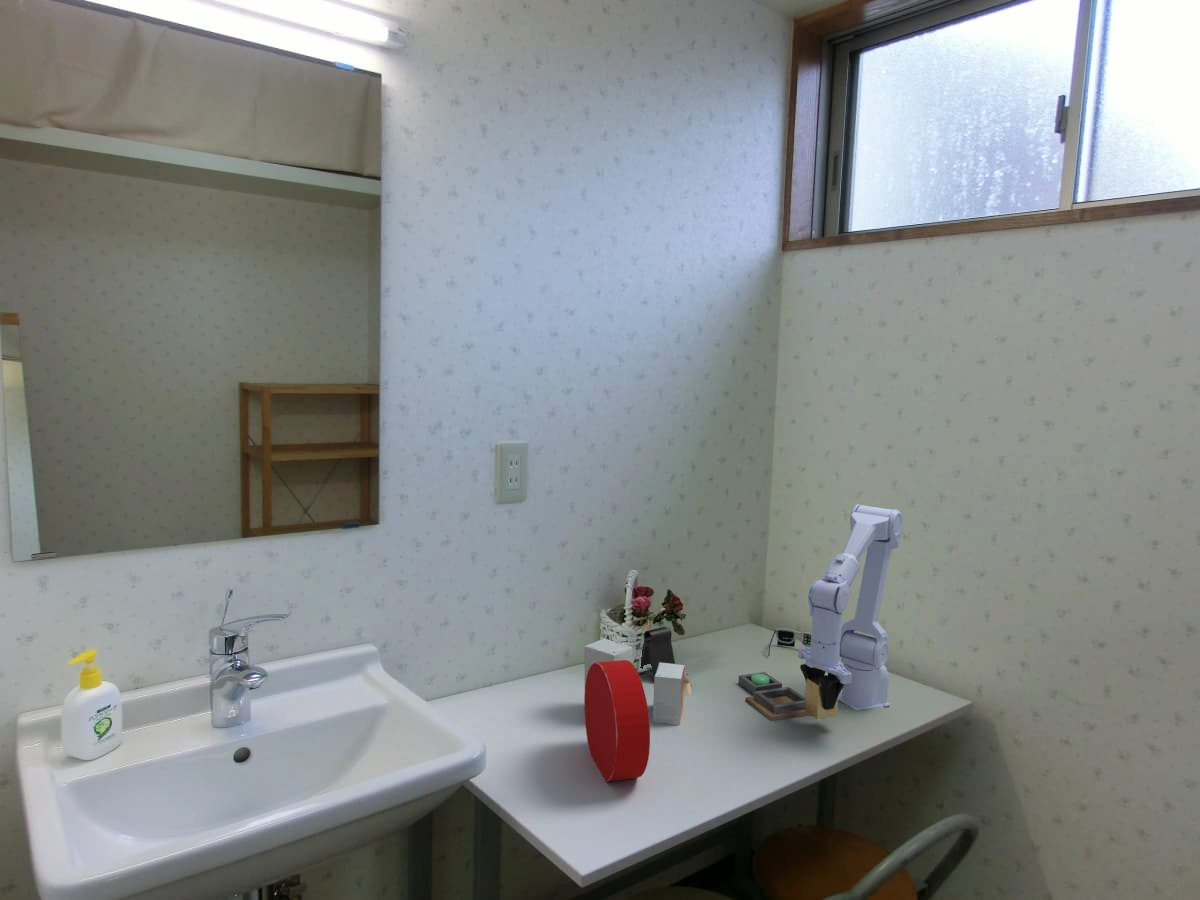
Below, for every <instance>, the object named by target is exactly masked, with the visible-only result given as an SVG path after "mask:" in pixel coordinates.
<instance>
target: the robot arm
mask: <svg viewBox="0 0 1200 900" xmlns="http://www.w3.org/2000/svg"><path fill="white" fill-rule="evenodd" d="M849 525H850V526H849V527H850V533H849V536H848V538H847V541H846V542H845V545H844V548H843V550H842V552H841V553H836V554H835V555H834V556H833V558H832V559H831V561H830V563H829V564H828V566H827V568H826V569H825V571H824V573H823V575H822V576H821V578H820V579H818V580H815V581H813V582H812V584H811V585H810V587H809V590H808V595H807V601H808V604H809V614H810V616H811V617H812V620H811V632H810V633H811V647H803V648H798V655H797V657H798V658H799V659H801V660H805V664H800V666H799V669H800V670H801V672H802V675H803V676H804V677H803V678H804V680H805V682H806V681H807V678H811V677H818V676H819V679H820V682H821V686H822V691H823V707H824V709H825V710H830V709H834V706H835V703H836V701H837V698H838V701H841V702H842V703H844V704H845V705H847V706H849V707H850V708H852V709H854V710H855V711H860V710H865V709H871V708H878V707H883V708H886V707H890V705H891V703H889V702H888V697H889V696H888V695H889V679H890V677H889V676H890V675H889V672H888V669H887V667H886V665H885V664H886V663H887V660H888V659H887V658H888V656H889V634H888V633H887V631H886V630H885V629H884V628H883V626H882V625H881V624H880V623H879V622H878V621H879V616H880V611H881V605H882V600H883V596H884V595H883V594H884V589H885V585H886V584H885V583H886V580H887V579H886V578H887V572H888V568H889V561H890V556H891V553H892V550H894V549H897V548H899V546H900V542H901V538H902V531H903V526H904V521H903V515H902V513H901V512H900V510H899V509H890V508H889V509H888V508H883V507H882V508H881V507H876V506H869V505H863V504H860V503H858V504H856V505H855V506H854V507H853V508H852V510H851V512H850V517H849ZM865 552H866V556H865V560H864V566H863V571H862V577H861V582H860V583H861V584H860V587H859V591H858V592H859V593H858V598H857V604H856V610H855V615H854V618H852V619H850V620H848V621H846V622H844V623H843V613H844V611H845V610H846V609H847V607H848V603H849V598H850V596H851V593H852V592H851V591H852V590H851V587H852V585H853V583H854V581H855V579H856V577H857V575H858V573H859V572H860V564H859V561H860V560H861V558H862V557H863V555H864V554H865ZM842 623H843V624H842ZM862 633H863V634H862ZM866 634H867V635H866ZM869 635H871V636H869ZM840 658H841V659H840ZM842 663H843V664H842ZM826 673H827V675H825V674H826ZM838 695H839V696H838Z"/></svg>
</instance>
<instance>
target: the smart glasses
mask: <svg viewBox="0 0 1200 900" xmlns="http://www.w3.org/2000/svg"><path fill="white" fill-rule="evenodd" d="M773 631H774V632H773V634H772V636H771V638H770V642H769V645H768V653H767V654H768V657H770V654H771V653H770V651H771V645H772V642H773V639H774V637H776V640H777V641H776V642H777V646H780V647H781V646H782V647H783V646H784V647H791V648H792V647H793V648H795V645H796V643H795V642H796V635H799V638H800V643H801V644H802V645H803V646H804V647H805V648H811V632H809V631H795V630H793V629H791V628H785V627H783V628H775V629H774V630H773ZM802 635H803V636H802ZM802 637H803V638H802Z"/></svg>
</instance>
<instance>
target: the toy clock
mask: <svg viewBox="0 0 1200 900" xmlns="http://www.w3.org/2000/svg"><path fill="white" fill-rule="evenodd" d="M641 679H642V678H641V675H640V674H639V673H638V672H637V670H636V666H635V665H634V663H633V664H632V663H631V662H630V661H628V660H619V661H607V662H595V663H593V664H592V665H591V666H590V668H589V670H588V673H587V677H586V683H585V682H584V696H583V697H584V698H583V699H584V700H583V701H584V702H583V703H584V705H583V706H584V707H583V708H584V724H585V732H586V739H587V746H588V750H589V754H590V756H591V759H592V760H593V761H594V763H595V766H596V767H597V769H598V770H599V772H600V773H599V774H601V776H602V778H603V780H604V782H605V783H609V782H615V781H616V782H617V781H623V780H631V779H638V778H640V777H642V776H643V774H645V771H646V769H647V766H648V762H649V756H650V749H651V748H650V747H651V727H650V725H651V724H650V716H649V715H650V714H649V707H648V702H647V697H646V696H647V695H646V693H645V689H644V686H643V681H642V680H641Z"/></svg>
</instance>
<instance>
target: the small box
mask: <svg viewBox="0 0 1200 900" xmlns="http://www.w3.org/2000/svg"><path fill="white" fill-rule="evenodd" d="M684 672H686V671H685V664H678V663H677V664H676V663H675V664H669V663H659V665H658V669H657V672H656V674H655V676H654V682H653V705H652V708H653V709H652V722H654V723H659V724H666V725H673V726H680V725H681V720H682V716H683V710H684V709H683V708H684V696H683V693H684Z"/></svg>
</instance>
